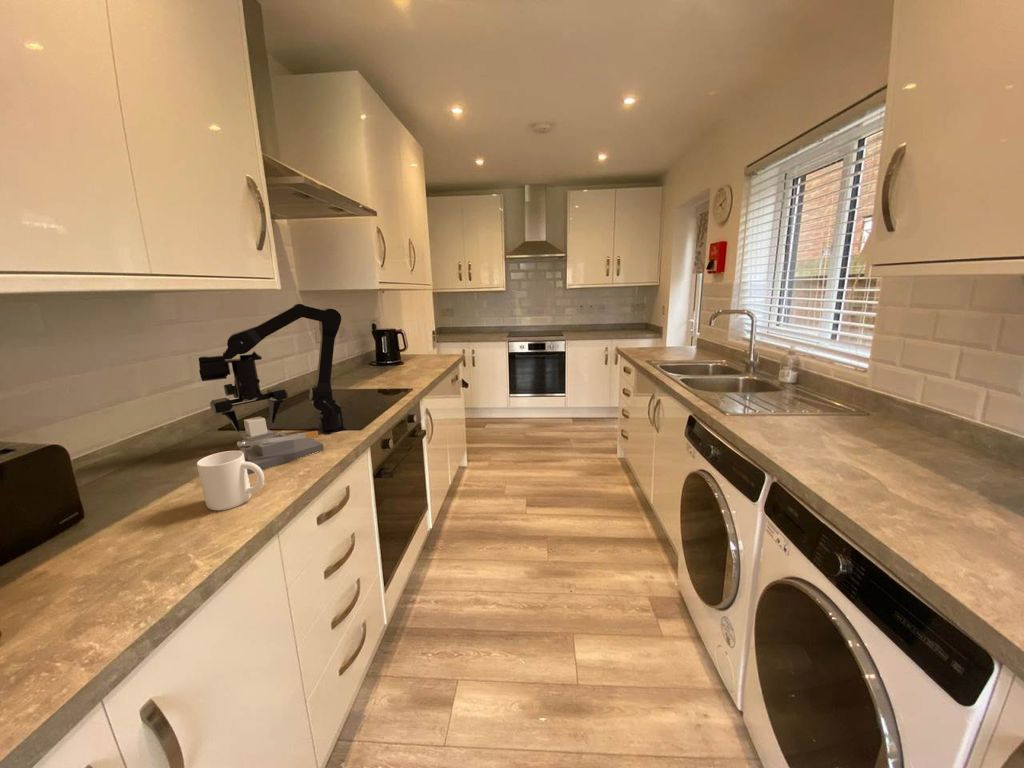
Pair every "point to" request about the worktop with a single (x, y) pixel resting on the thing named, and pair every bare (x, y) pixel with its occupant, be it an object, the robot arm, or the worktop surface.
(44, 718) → the worktop surface
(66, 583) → the worktop surface
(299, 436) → the latch bar
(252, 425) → the plug
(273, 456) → the socket block
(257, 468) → the mug
